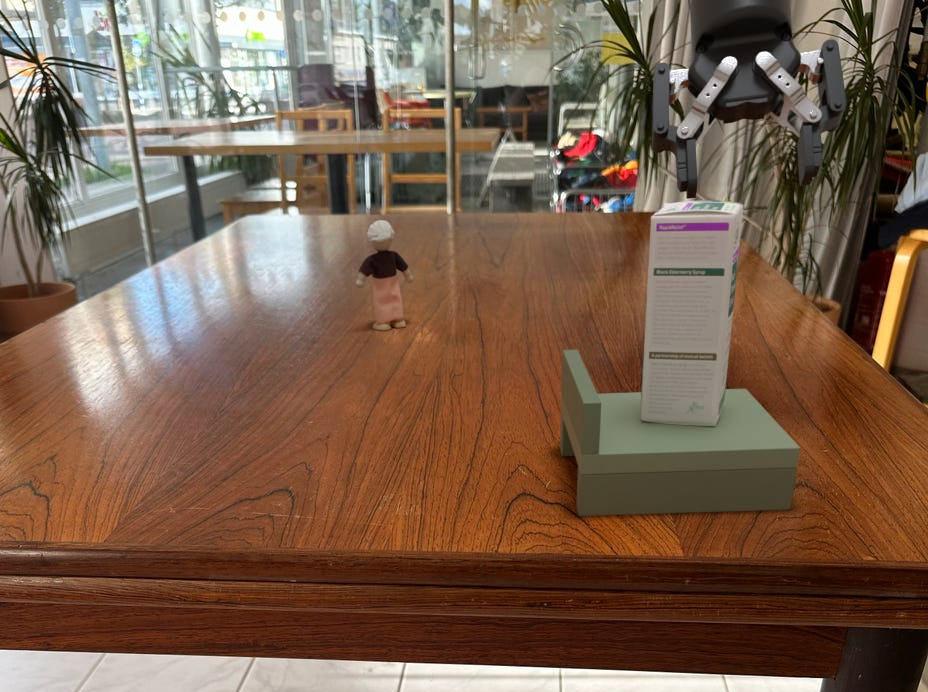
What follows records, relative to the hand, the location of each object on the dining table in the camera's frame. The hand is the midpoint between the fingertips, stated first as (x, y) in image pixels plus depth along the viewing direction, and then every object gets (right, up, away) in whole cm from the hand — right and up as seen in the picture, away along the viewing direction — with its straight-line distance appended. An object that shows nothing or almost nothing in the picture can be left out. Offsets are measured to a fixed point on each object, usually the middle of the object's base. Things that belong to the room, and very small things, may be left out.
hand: (749, 186), depth 72 cm
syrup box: (-5, -18, -1) cm, 19 cm away
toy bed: (-6, -23, +1) cm, 23 cm away
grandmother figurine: (-31, +5, +49) cm, 58 cm away
